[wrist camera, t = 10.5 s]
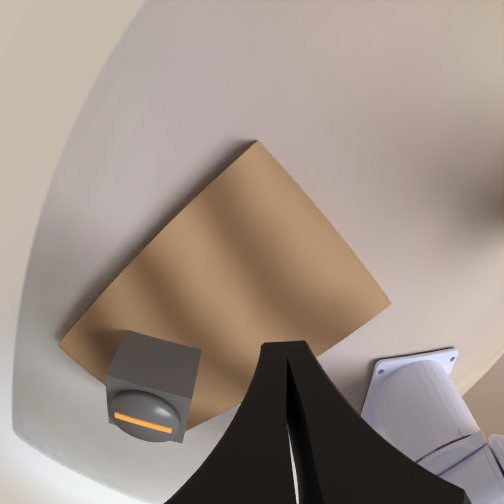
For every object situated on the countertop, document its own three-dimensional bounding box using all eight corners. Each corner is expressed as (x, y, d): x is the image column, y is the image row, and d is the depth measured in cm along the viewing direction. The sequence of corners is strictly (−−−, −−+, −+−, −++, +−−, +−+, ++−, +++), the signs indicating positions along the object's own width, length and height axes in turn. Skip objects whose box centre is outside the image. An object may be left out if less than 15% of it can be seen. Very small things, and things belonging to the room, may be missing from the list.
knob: (201, 349, 21) (189, 410, 16) (191, 397, 23) (180, 453, 18) (128, 329, 20) (100, 384, 15) (126, 379, 22) (105, 432, 17)
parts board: (257, 139, 17) (257, 141, 16) (385, 294, 20) (391, 303, 19) (63, 336, 22) (57, 345, 21) (180, 424, 26) (177, 434, 25)
